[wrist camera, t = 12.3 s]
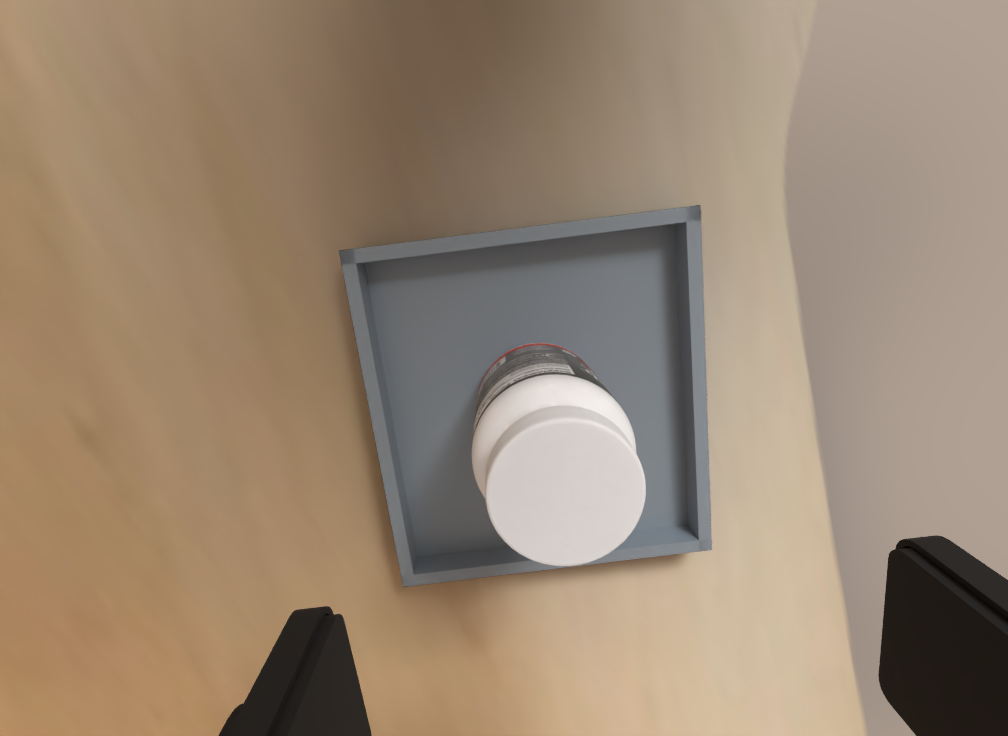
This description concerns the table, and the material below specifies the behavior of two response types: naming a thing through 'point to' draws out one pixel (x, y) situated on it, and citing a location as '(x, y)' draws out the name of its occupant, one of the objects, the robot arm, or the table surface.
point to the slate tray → (518, 321)
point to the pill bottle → (555, 457)
